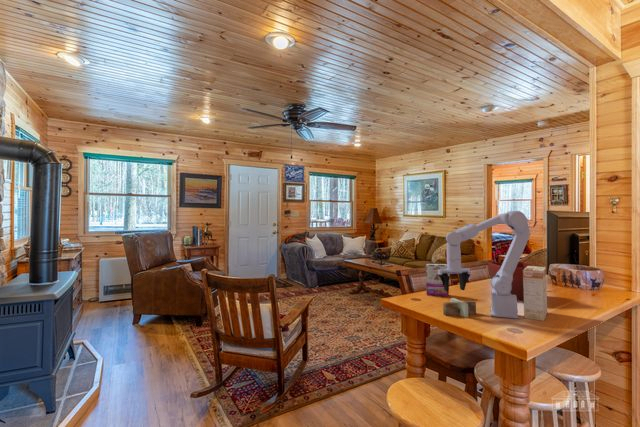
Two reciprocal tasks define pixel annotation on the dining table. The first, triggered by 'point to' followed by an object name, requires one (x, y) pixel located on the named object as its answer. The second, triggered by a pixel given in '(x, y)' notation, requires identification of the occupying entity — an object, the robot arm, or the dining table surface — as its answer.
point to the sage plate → (461, 307)
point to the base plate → (453, 309)
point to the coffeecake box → (535, 292)
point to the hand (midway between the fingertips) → (454, 290)
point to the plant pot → (517, 277)
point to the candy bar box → (435, 280)
